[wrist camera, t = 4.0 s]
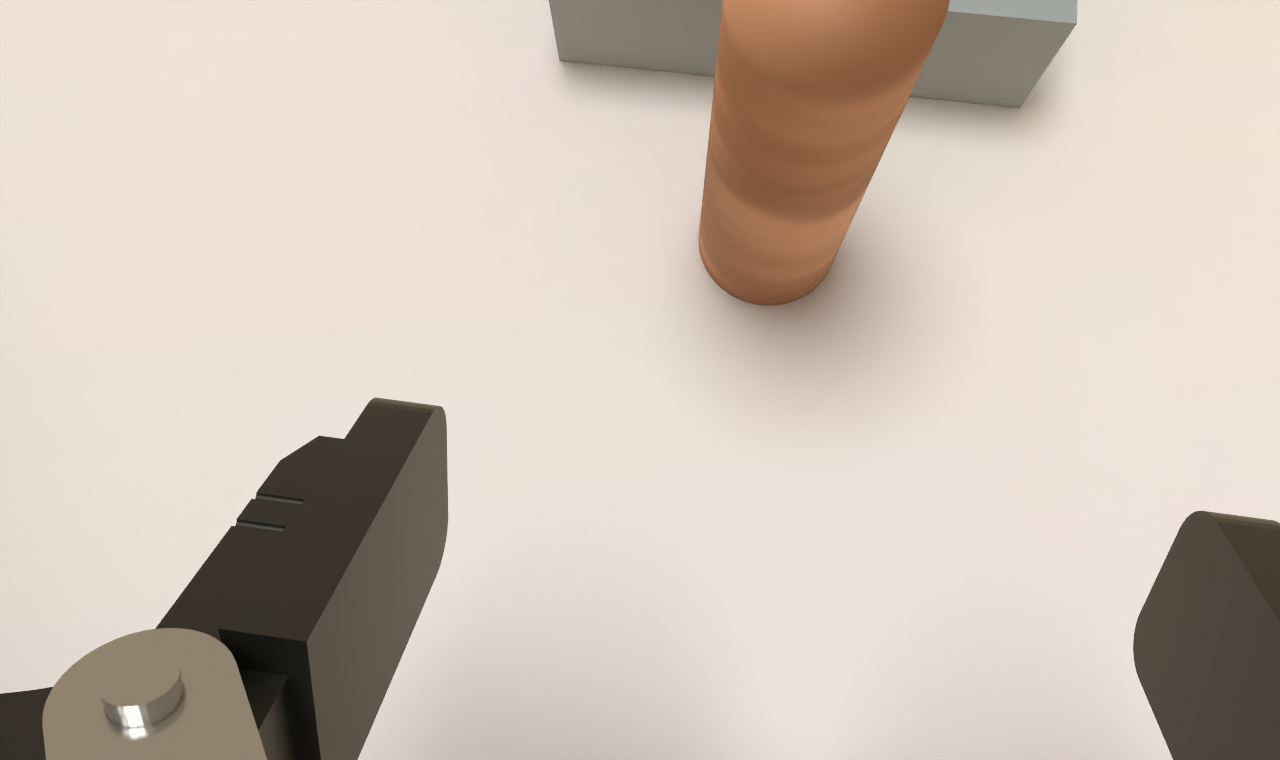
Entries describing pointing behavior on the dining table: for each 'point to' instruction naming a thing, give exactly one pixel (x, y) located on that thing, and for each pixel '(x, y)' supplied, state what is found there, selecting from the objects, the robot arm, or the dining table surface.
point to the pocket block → (954, 71)
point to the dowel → (801, 132)
